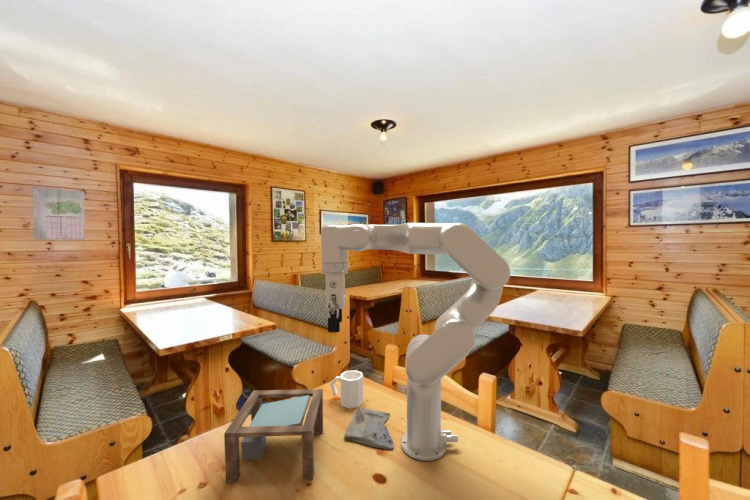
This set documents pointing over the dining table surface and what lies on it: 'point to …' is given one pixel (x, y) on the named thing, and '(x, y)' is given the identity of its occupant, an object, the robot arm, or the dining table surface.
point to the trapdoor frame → (274, 429)
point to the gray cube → (253, 447)
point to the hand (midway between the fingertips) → (335, 326)
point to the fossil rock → (369, 428)
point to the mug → (350, 388)
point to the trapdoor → (282, 412)
